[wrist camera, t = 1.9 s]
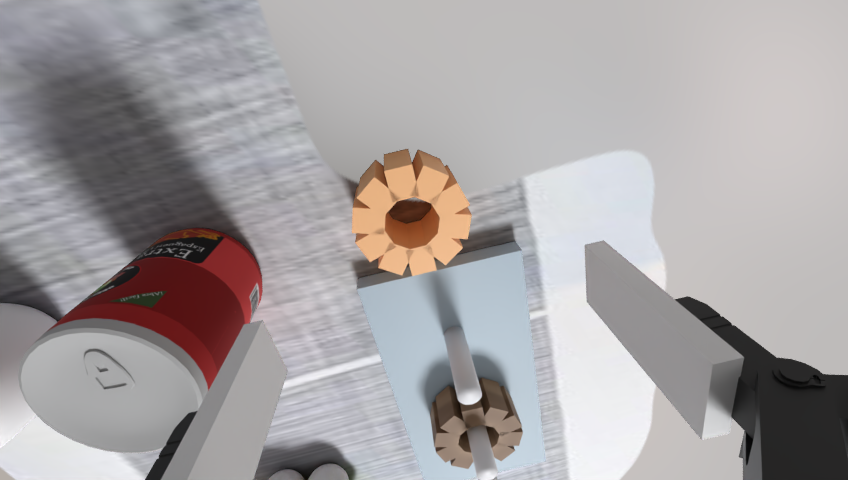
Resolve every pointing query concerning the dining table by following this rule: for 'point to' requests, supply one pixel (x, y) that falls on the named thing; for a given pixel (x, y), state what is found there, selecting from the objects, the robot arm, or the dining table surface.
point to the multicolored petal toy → (313, 474)
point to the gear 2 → (474, 423)
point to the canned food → (144, 343)
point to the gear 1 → (416, 238)
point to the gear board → (487, 338)
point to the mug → (16, 363)
